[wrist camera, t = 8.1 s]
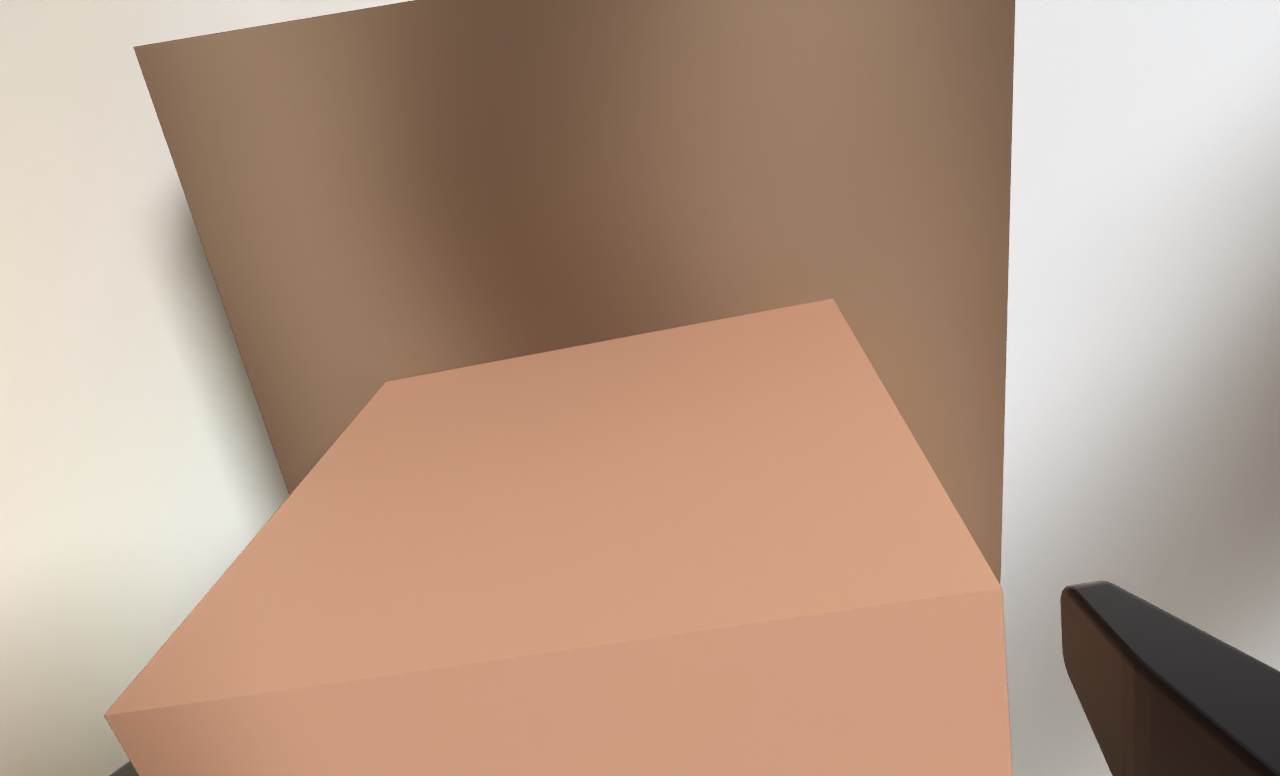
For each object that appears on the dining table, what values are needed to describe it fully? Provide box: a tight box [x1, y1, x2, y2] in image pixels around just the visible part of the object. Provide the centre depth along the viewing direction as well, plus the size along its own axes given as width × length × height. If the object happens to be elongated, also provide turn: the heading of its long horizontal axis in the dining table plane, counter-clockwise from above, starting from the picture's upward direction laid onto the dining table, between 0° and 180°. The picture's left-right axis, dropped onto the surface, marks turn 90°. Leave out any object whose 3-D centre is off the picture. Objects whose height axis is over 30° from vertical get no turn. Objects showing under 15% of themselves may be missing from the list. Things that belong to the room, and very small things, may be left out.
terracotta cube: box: [104, 299, 1012, 776], centre depth 9 cm, size 6×6×6 cm
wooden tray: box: [134, 0, 1015, 584], centre depth 14 cm, size 10×14×4 cm
